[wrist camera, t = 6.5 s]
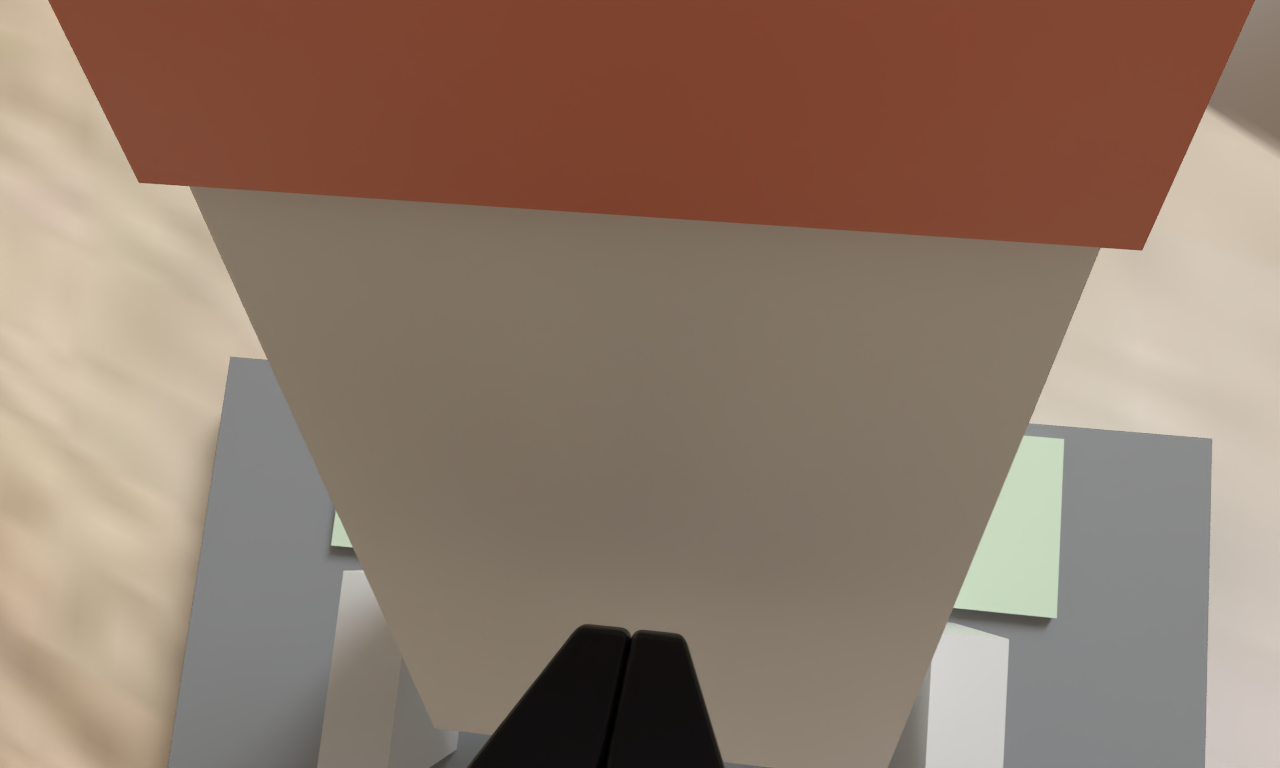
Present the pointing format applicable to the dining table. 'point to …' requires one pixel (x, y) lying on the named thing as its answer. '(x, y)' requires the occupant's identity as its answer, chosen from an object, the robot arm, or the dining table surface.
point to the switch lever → (664, 302)
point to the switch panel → (921, 764)
